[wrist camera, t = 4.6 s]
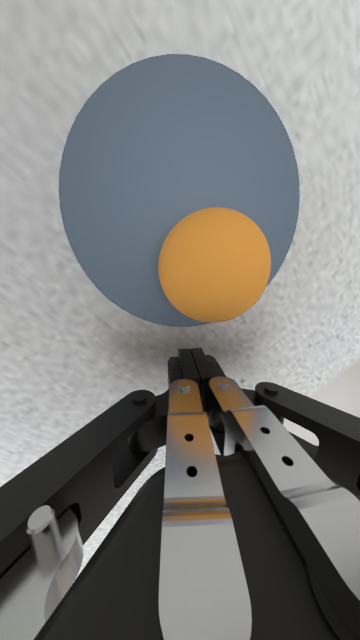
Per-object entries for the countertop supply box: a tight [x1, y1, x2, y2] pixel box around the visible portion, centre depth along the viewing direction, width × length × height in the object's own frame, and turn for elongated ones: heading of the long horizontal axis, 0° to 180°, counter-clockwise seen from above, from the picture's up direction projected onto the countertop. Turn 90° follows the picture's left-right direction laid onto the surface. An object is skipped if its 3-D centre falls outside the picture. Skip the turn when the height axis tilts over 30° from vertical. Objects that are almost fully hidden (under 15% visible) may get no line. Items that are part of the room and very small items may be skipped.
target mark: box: [59, 54, 299, 326], centre depth 12 cm, size 14×14×1 cm
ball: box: [158, 207, 271, 322], centre depth 10 cm, size 6×6×6 cm
